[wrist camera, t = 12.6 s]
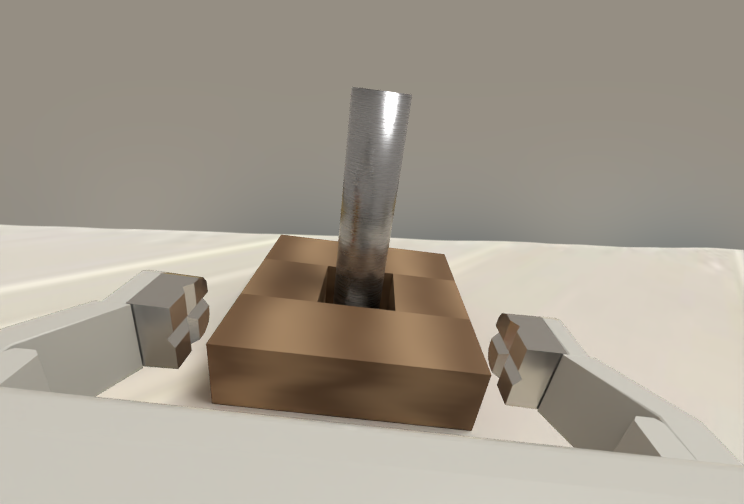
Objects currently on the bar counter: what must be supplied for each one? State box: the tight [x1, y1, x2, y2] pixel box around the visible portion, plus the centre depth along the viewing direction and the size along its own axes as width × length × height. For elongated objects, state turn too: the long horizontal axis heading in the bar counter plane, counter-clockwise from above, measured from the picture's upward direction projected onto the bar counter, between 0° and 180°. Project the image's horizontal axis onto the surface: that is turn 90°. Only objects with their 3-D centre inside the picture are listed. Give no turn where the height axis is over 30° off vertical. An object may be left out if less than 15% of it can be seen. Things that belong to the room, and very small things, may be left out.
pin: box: [333, 87, 412, 309], centre depth 22 cm, size 3×3×16 cm
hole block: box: [206, 235, 491, 430], centre depth 24 cm, size 14×14×4 cm
